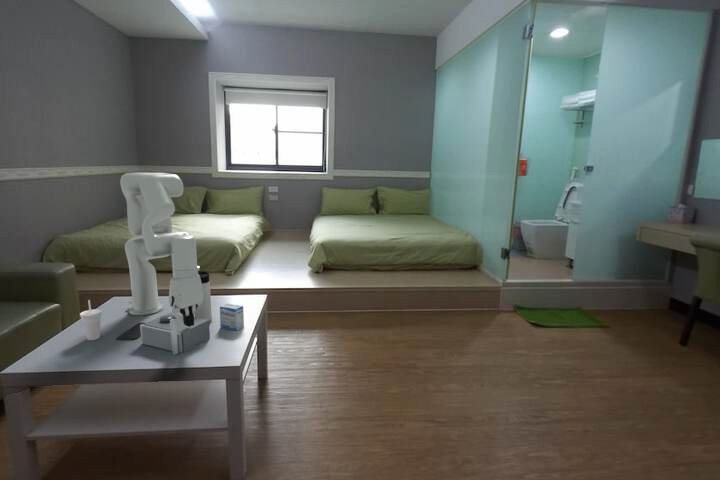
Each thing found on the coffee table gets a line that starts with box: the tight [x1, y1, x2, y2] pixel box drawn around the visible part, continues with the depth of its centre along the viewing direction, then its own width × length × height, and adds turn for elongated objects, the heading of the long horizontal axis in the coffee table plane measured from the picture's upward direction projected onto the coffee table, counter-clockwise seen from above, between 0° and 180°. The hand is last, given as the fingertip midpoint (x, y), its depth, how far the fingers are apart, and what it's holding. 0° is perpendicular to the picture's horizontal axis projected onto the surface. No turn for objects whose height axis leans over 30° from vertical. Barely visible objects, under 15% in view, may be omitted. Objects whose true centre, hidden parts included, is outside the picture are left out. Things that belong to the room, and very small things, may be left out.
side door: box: [140, 319, 184, 355], centre depth 130 cm, size 18×3×12 cm, turn 69°
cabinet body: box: [143, 312, 211, 353], centre depth 138 cm, size 18×12×8 cm, turn 69°
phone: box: [115, 322, 145, 341], centre depth 145 cm, size 7×1×15 cm
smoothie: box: [79, 299, 103, 341], centre depth 138 cm, size 6×6×14 cm
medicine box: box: [219, 303, 245, 331], centre depth 150 cm, size 8×4×9 cm, turn 70°
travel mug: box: [194, 270, 213, 324], centre depth 154 cm, size 6×7×20 cm
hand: (189, 325), depth 132 cm, fingers closed
